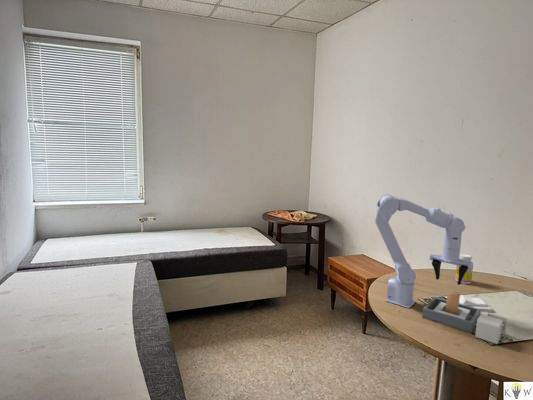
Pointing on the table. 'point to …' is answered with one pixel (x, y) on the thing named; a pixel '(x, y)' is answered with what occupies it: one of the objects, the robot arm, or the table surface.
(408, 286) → the robot arm
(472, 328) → the walled box
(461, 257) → the supplement bottle
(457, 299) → the brown cylindrical peg
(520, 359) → the table surface
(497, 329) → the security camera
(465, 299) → the light switch
